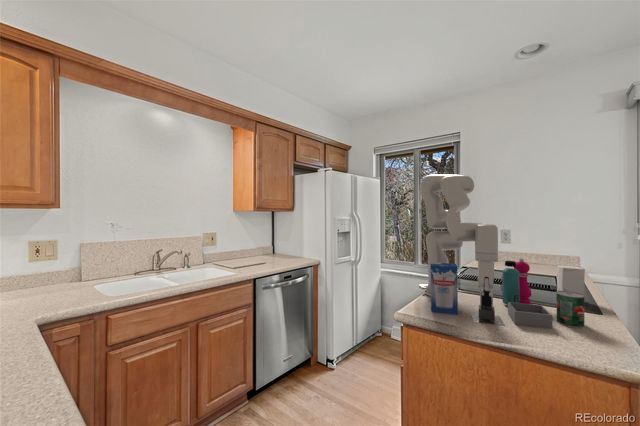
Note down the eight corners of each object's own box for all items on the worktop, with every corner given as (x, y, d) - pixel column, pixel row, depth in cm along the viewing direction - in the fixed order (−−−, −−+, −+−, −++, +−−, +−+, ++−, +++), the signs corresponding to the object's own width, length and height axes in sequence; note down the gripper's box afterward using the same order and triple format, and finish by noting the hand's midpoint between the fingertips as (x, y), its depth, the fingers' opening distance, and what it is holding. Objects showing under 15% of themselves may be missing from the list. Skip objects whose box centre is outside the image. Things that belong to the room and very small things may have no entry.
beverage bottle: (514, 310, 119) (514, 263, 119) (498, 306, 125) (498, 260, 125) (523, 308, 122) (523, 261, 122) (507, 303, 128) (507, 259, 128)
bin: (514, 326, 103) (514, 311, 103) (507, 316, 114) (507, 302, 114) (552, 331, 99) (552, 315, 99) (541, 319, 109) (541, 305, 109)
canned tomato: (587, 329, 100) (587, 298, 100) (558, 325, 104) (558, 295, 104) (581, 321, 107) (581, 292, 107) (554, 317, 111) (554, 289, 111)
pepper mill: (525, 299, 133) (525, 257, 133) (535, 305, 126) (535, 259, 126) (508, 299, 134) (508, 257, 134) (518, 304, 127) (517, 259, 126)
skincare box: (561, 301, 130) (561, 267, 129) (556, 297, 136) (556, 264, 136) (585, 303, 127) (585, 268, 126) (578, 299, 133) (578, 266, 132)
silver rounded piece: (478, 318, 108) (478, 291, 108) (478, 313, 113) (478, 288, 113) (494, 320, 106) (494, 293, 106) (494, 315, 110) (494, 290, 110)
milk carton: (431, 313, 117) (430, 265, 117) (430, 308, 123) (430, 262, 123) (458, 316, 114) (457, 266, 114) (456, 311, 120) (456, 263, 119)
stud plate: (473, 324, 106) (473, 314, 106) (470, 314, 116) (470, 305, 116) (505, 328, 102) (505, 317, 102) (499, 318, 112) (499, 308, 112)
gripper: (475, 252, 118) (475, 296, 118) (474, 259, 103) (474, 309, 104) (496, 254, 114) (497, 299, 115) (499, 261, 100) (499, 313, 100)
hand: (486, 303), depth 109 cm, fingers closed on silver rounded piece, 4 cm apart
